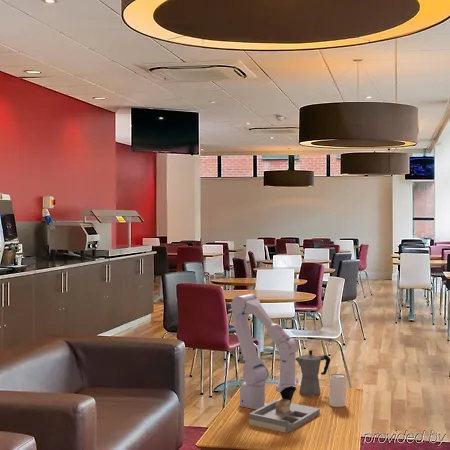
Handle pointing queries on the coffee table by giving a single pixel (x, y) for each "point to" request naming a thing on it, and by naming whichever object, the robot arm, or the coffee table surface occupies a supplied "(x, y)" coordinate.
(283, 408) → the block
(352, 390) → the coffee table surface
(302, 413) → the box
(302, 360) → the coffeepot
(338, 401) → the can
